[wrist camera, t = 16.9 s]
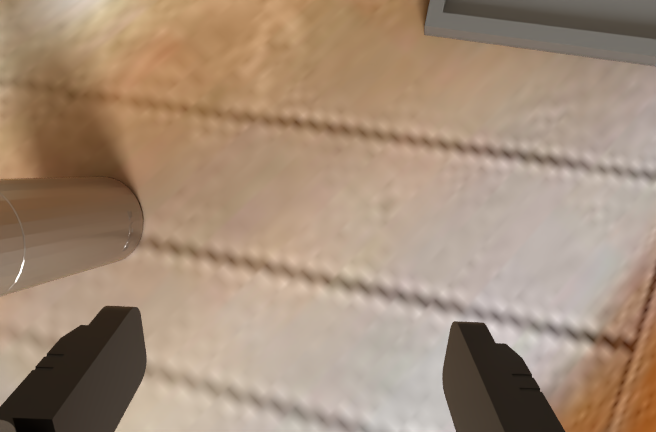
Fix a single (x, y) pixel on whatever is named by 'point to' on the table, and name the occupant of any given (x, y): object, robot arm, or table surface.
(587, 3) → the charcoal tray
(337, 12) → the table surface
